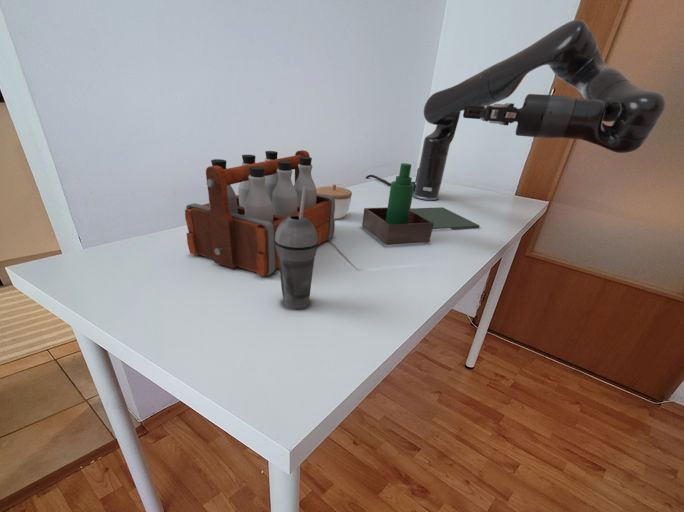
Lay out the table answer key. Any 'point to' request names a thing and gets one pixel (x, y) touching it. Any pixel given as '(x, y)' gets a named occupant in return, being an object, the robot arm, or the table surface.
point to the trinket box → (337, 199)
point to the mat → (444, 218)
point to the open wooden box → (397, 227)
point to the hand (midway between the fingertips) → (465, 111)
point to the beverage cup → (296, 257)
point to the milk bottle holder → (255, 210)
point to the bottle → (400, 197)
